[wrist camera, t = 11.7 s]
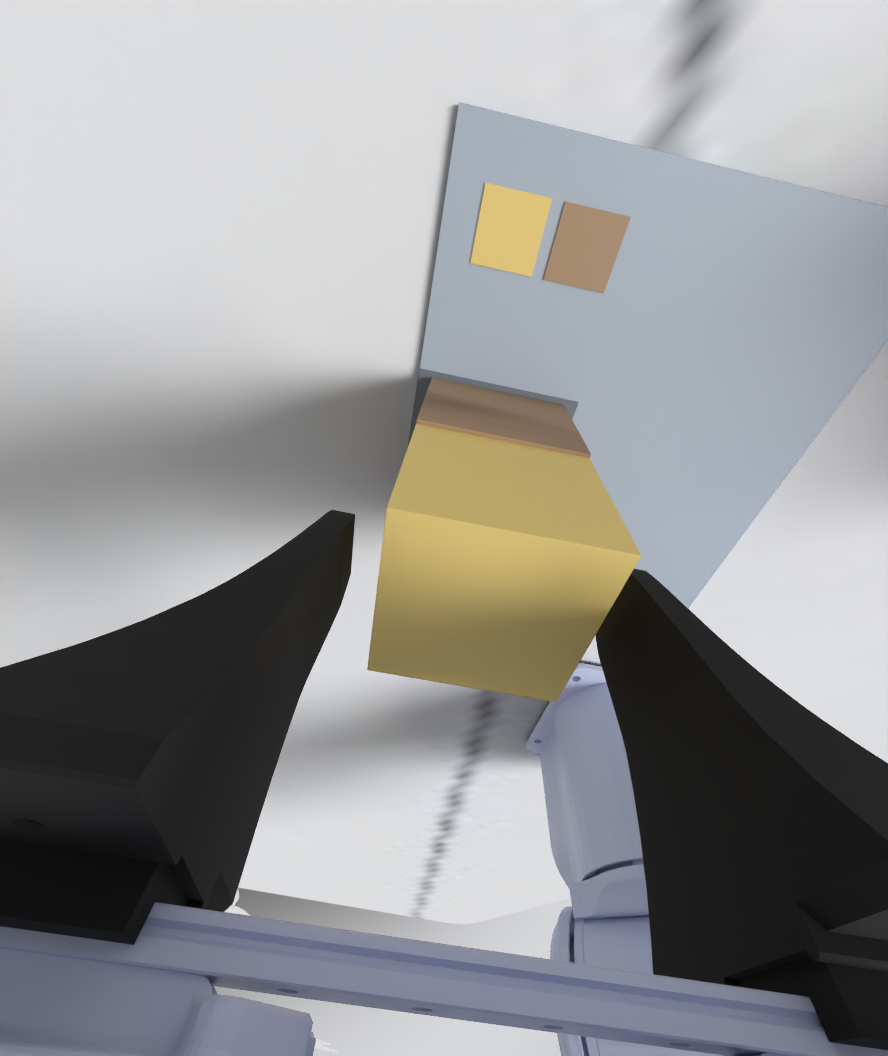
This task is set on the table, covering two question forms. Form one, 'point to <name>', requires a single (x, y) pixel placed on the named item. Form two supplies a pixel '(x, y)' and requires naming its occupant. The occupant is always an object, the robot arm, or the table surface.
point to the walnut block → (500, 417)
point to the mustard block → (495, 565)
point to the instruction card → (655, 318)
